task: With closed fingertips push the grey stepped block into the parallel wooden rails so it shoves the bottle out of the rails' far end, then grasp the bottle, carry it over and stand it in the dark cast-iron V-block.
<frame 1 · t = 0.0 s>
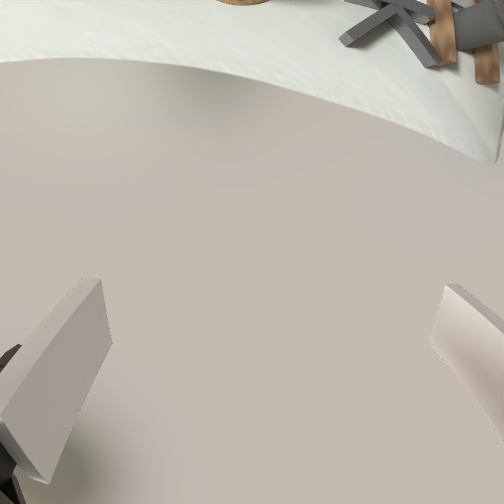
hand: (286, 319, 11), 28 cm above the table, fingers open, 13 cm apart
parallel wooden rails: (454, 28, 30), on the table
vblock: (387, 51, 32), on the table
bottle: (454, 33, 30), on the table
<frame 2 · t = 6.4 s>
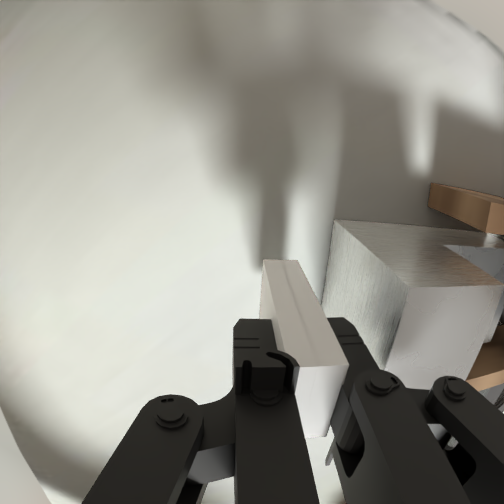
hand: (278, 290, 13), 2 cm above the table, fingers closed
grey stepped block: (413, 276, 15), on the table, touching gripper
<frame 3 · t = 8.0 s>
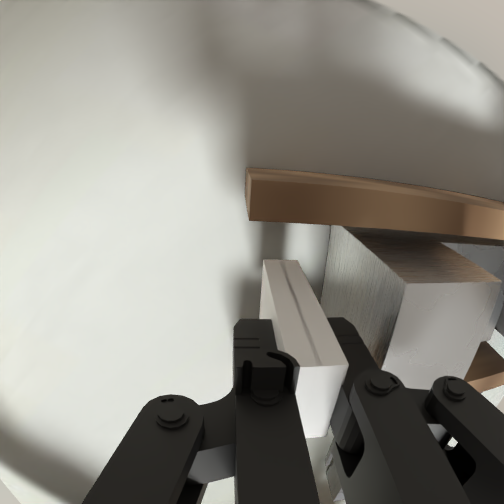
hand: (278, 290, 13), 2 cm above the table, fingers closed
parallel wooden rails: (396, 281, 15), on the table
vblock: (435, 415, 20), on the table
grey stepped block: (412, 275, 15), on the table, touching bottle, gripper
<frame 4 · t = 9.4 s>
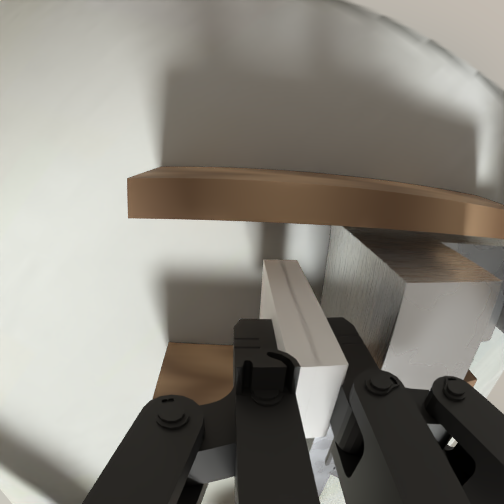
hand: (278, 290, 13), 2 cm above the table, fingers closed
parallel wooden rails: (332, 280, 15), on the table
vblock: (400, 423, 19), on the table
grey stepped block: (412, 275, 15), on the table, touching bottle, gripper
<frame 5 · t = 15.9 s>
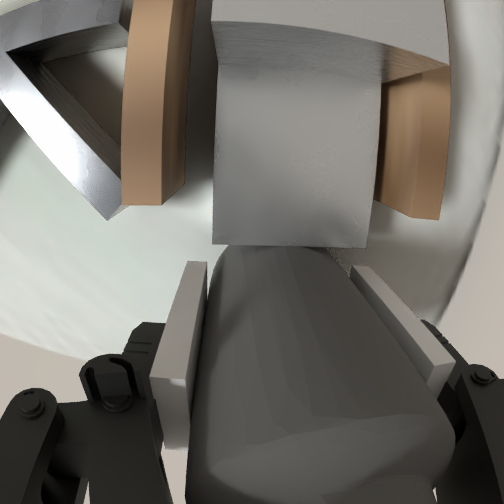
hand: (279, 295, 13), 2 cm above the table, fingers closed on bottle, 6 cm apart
parallel wooden rails: (285, 9, 10), on the table
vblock: (25, 188, 12), on the table
grey stepped block: (287, 107, 12), on the table
bottle: (273, 283, 15), on the table, touching gripper
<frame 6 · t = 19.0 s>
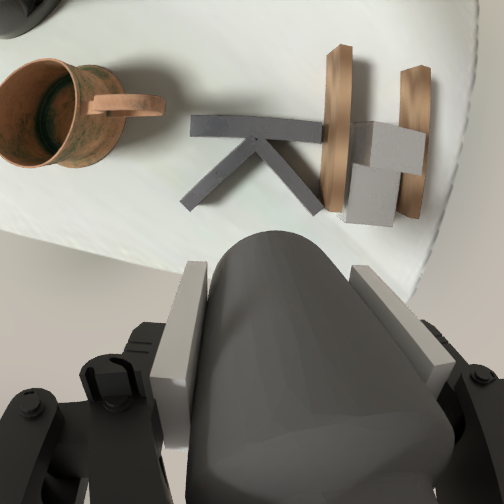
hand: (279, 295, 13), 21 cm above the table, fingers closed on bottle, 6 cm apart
parallel wooden rails: (367, 133, 31), on the table
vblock: (251, 198, 32), on the table
mug: (103, 114, 29), on the table
grey stepped block: (365, 173, 32), on the table
bottle: (272, 288, 15), point 19 cm above the table, touching gripper
when the fingers open (4 cm above the table, at t = 22.3 s): bottle drops 2 cm, on the table.
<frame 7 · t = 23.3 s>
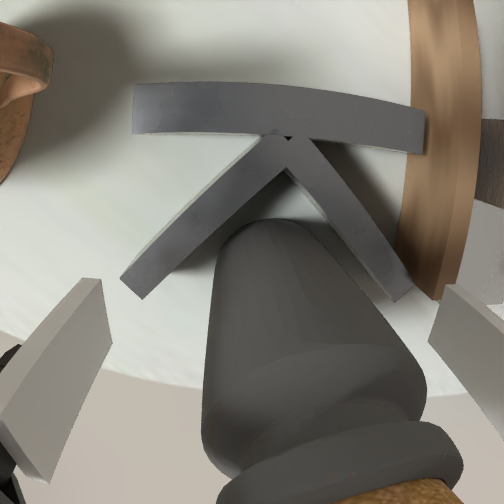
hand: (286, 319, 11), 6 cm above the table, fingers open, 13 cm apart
parallel wooden rails: (474, 139, 14), on the table
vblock: (269, 261, 16), on the table
mug: (2, 105, 13), on the table
grey stepped block: (467, 209, 16), on the table
bottle: (270, 271, 17), on the table
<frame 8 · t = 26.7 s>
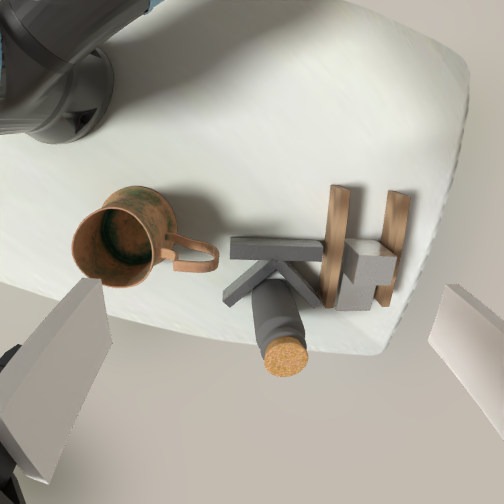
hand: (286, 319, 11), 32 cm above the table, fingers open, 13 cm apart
parallel wooden rails: (357, 243, 44), on the table
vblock: (270, 292, 46), on the table
mug: (157, 229, 42), on the table
grey stepped block: (353, 271, 46), on the table
bottle: (271, 296, 46), on the table
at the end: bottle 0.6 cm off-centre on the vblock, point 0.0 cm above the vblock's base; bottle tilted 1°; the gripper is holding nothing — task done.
